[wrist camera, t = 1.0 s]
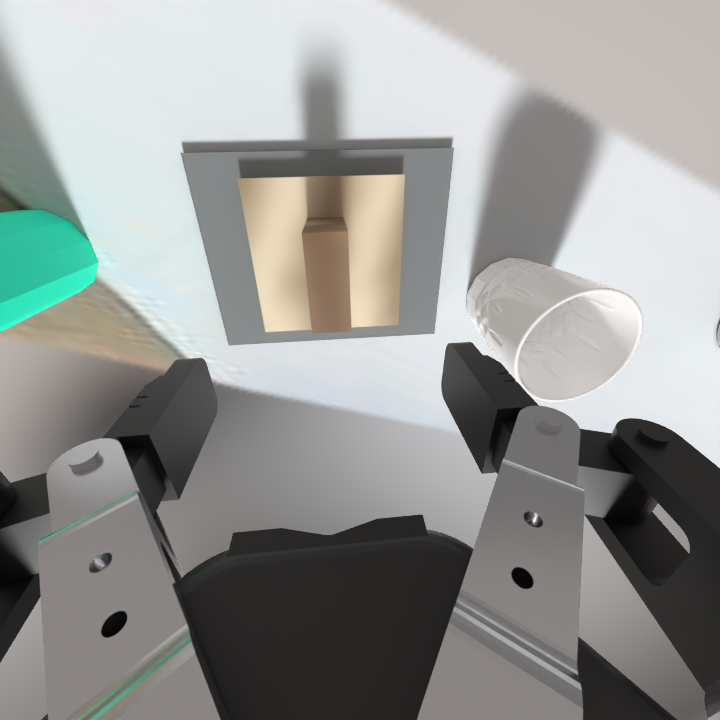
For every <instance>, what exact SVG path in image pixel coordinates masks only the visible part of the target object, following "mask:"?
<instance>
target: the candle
mask: <svg viewBox="0 0 720 720" xmlns="http://www.w3.org/2000/svg"><path fill="white" fill-rule="evenodd" d="M97 267H98V261H97V258H96V256H95V254H94V251H93V249H92V246H91V244H90V241H89V240H88V239H87V238H86V237H85V236H84V235H83V234H82V233H81V232H80V231H79V230H78V229H77V228H76V227H75V226H74V225H73V224H72V223H71V222H70V221H68V220H65V219H63V218H61V217H59V216H57V215H54V214H52V213H50V212H48V211H45V210H17V211H10V212H2V213H0V332H1V331H3V330H5V329H7V328H9V327H11V326H13V325H15V324H17V323H19V322H21V321H23V320H25V319H27V318H29V317H31V316H33V315H35V314H37V313H39V312H41V311H43V310H45V309H47V308H49V307H51V306H53V305H55V304H57V303H59V302H61V301H63V300H65V299H67V298H69V297H71V296H73V295H75V294H77V293H79V292H81V291H82V290H83V289H85V288H86V287H87V286H89V285H90V284H91V283H93V282H94V281H95V278H96V272H97Z"/></svg>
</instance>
